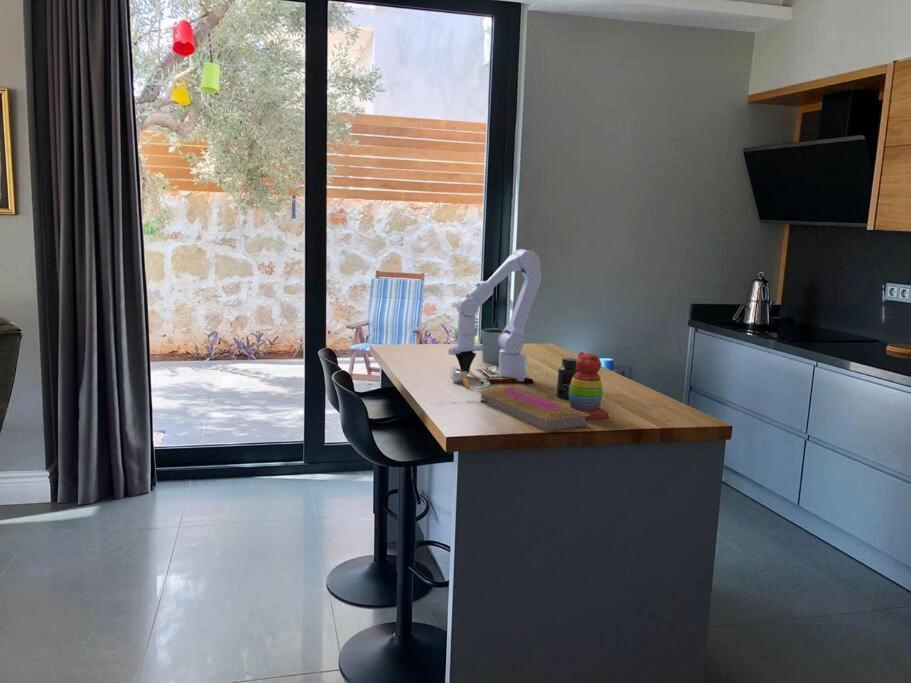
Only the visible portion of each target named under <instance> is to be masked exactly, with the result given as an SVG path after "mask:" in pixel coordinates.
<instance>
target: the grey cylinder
mask: <svg viewBox="0 0 911 683" xmlns="http://www.w3.org/2000/svg"><path fill="white" fill-rule="evenodd" d="M503 331H504V329H502V328H484V329H481V331H480V336H481V337H480V338H481V345H482V353H481V354H482V356H481V357H482V358H481V359H482V362H483V363H485V364H491V365H493V364H494V365H497V364H498V365H499V353H500V349H501V347H500V346H499V344H498V338H499V336H500V334H501V333H502V332H503Z"/></svg>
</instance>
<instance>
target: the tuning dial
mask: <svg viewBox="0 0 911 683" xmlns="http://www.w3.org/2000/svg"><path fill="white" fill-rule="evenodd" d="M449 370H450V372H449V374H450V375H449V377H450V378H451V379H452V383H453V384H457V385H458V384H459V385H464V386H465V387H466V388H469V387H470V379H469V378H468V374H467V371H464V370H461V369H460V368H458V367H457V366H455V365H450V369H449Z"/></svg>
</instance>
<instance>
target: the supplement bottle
mask: <svg viewBox="0 0 911 683" xmlns="http://www.w3.org/2000/svg"><path fill="white" fill-rule="evenodd" d="M577 359H578V358H574V357H573V358H572V357H563V358H562V360H561V366H560V367H559V368H558V370H557V380H556V382H557V383H556V397H557V398H560V399H564V400H570V399H569V387H570V384H571V380H572V378H573V377H574V374H575V373H576V372H578V370H577V367H576V361H577Z"/></svg>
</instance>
